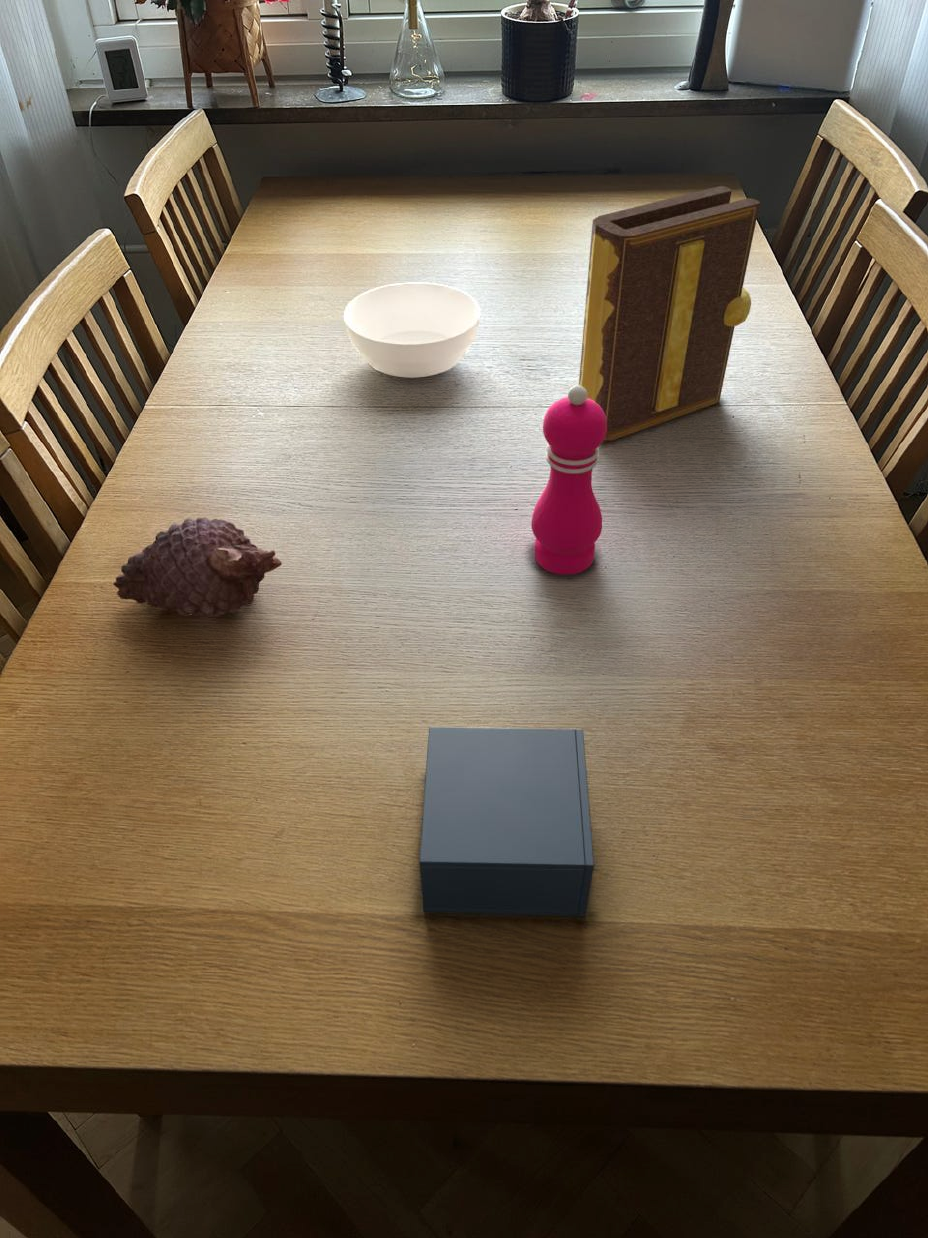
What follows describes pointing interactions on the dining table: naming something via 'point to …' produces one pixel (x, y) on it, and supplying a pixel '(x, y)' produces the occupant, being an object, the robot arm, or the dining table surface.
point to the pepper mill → (570, 485)
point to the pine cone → (197, 569)
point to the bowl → (412, 327)
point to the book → (664, 306)
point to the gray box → (506, 822)
